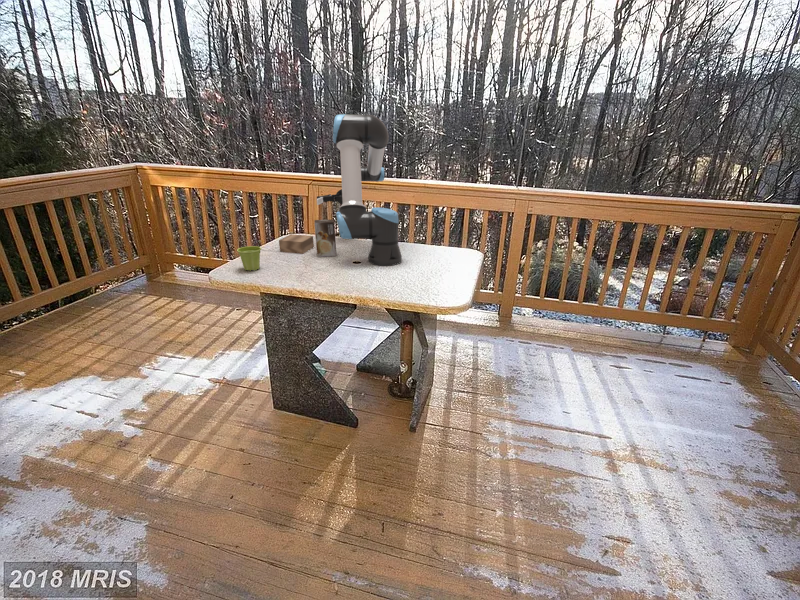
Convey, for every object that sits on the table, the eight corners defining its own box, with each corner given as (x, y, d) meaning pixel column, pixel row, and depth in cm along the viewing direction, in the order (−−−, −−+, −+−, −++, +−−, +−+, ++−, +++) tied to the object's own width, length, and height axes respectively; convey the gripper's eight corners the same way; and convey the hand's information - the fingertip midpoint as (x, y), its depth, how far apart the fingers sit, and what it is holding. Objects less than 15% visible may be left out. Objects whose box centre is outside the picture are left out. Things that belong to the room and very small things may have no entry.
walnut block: (313, 247, 197) (313, 236, 195) (303, 254, 187) (302, 242, 184) (292, 246, 200) (290, 234, 198) (280, 252, 189) (278, 240, 187)
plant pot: (236, 268, 165) (233, 248, 162) (257, 264, 171) (255, 244, 168) (245, 274, 159) (242, 253, 156) (267, 269, 165) (265, 249, 162)
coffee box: (336, 252, 190) (334, 219, 183) (336, 256, 184) (334, 222, 177) (317, 253, 188) (314, 219, 182) (316, 256, 182) (314, 222, 176)
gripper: (368, 204, 205) (356, 212, 186) (322, 202, 209) (306, 209, 190) (368, 189, 202) (356, 195, 183) (321, 187, 206) (305, 193, 186)
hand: (331, 202), depth 186 cm, fingers open, 13 cm apart
